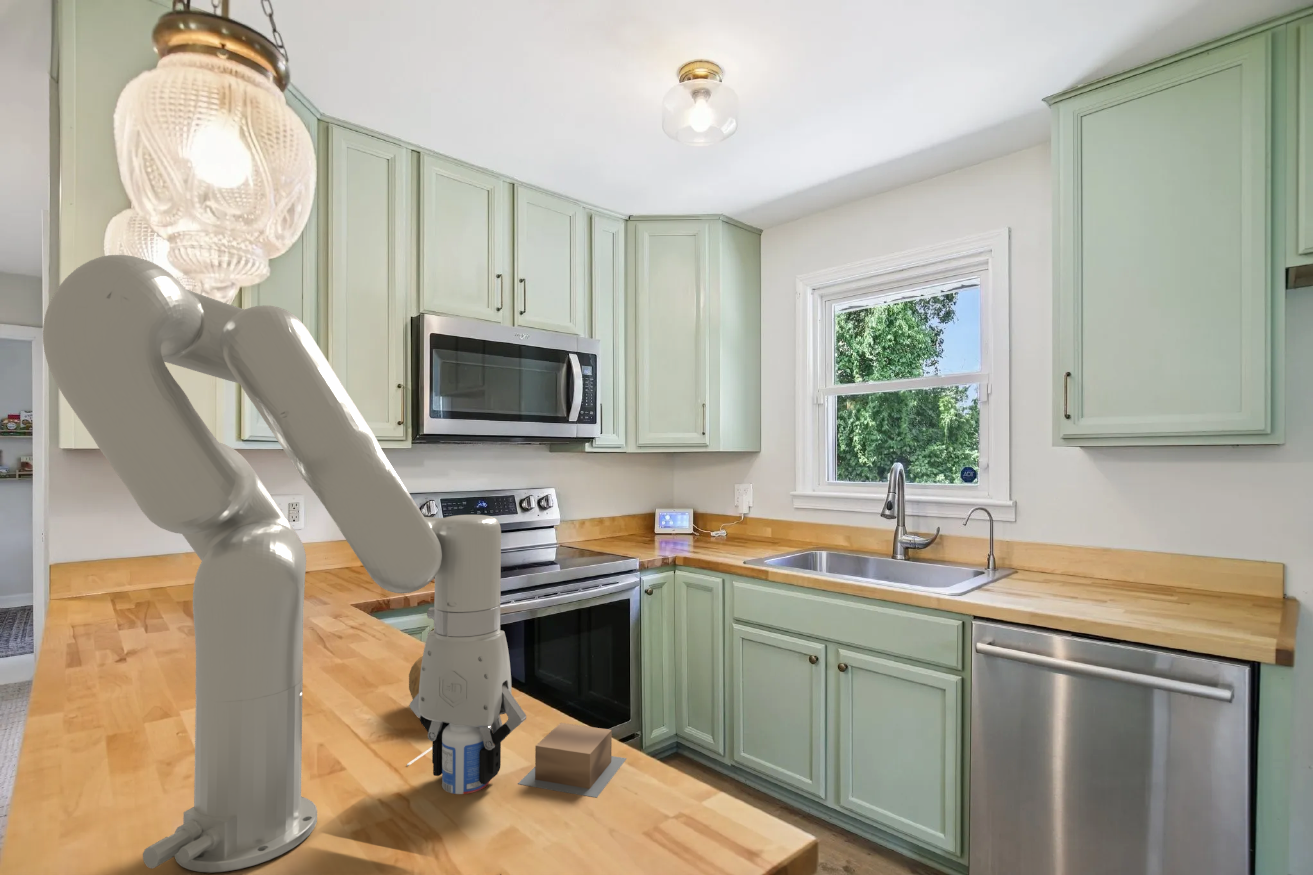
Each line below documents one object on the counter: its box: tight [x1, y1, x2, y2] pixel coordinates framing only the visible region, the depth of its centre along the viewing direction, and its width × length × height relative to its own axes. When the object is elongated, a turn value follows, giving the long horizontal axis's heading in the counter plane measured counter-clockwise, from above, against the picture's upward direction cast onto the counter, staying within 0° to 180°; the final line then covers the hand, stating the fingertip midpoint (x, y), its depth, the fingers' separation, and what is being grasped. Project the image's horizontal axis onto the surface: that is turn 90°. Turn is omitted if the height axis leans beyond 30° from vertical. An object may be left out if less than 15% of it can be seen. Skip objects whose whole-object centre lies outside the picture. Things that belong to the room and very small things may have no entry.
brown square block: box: [534, 722, 613, 789], centre depth 83 cm, size 7×7×4 cm
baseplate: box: [517, 755, 628, 798], centre depth 82 cm, size 10×10×1 cm
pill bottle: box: [441, 723, 491, 795], centre depth 80 cm, size 6×5×10 cm
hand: (466, 773), depth 80 cm, fingers closed on pill bottle, 5 cm apart
